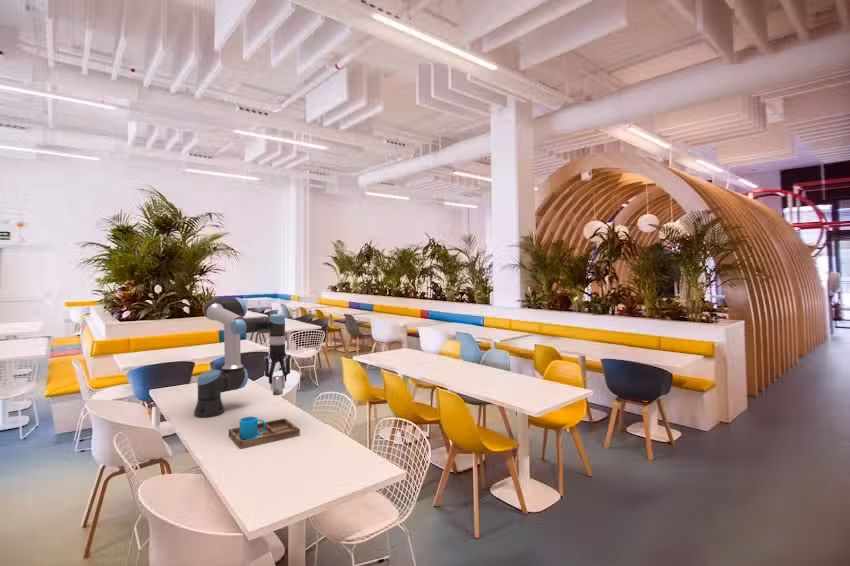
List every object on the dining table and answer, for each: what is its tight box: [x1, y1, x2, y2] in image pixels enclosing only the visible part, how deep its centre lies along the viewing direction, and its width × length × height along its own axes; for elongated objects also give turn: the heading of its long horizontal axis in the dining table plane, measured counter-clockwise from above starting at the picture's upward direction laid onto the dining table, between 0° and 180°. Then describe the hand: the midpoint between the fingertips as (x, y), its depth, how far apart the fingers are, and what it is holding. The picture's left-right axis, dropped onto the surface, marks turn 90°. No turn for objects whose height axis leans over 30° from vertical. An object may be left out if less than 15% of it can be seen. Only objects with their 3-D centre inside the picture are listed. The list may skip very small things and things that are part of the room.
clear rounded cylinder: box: [272, 375, 284, 396], centre depth 228 cm, size 5×5×9 cm
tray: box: [228, 417, 301, 450], centre depth 215 cm, size 20×28×3 cm
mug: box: [238, 416, 266, 439], centre depth 212 cm, size 12×8×8 cm
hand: (277, 388), depth 228 cm, fingers closed on clear rounded cylinder, 5 cm apart
